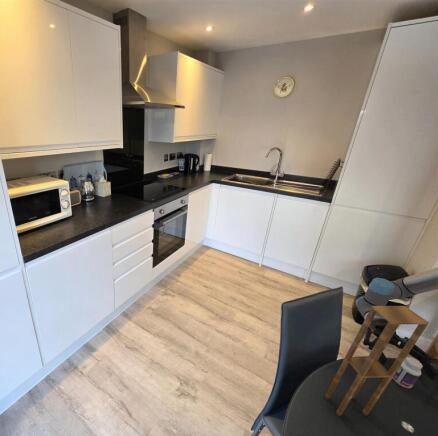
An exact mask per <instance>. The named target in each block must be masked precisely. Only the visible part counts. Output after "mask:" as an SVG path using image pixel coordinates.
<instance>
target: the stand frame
mask: <svg viewBox="0 0 438 436" xmlns="http://www.w3.org/2000/svg"><path fill="white" fill-rule="evenodd" d="M376 313H377V312H376V311H375V310H374V309H373V308H371V309H370V311H369V313H368V315H367V317H366V318H365V319H364V320H363V322H362V324H361V326H360V328H359V329H358V331H357V334H356V336H355V337H354V339H353V340H352V343H351V345H350V347H349V348H348V350H347V352H346V354H345V356H344V358H343V360H342V362H341V364H340V366H339V367H338V369H337V372H336V373H335V375H334V376H333V379H332V380H331V382H330V385H329V386H328V388H327V390H326V392H325V393H324V399H326V400H330V398H331V397H332V395H333V393H334V392H335V389H336V387H337V386H338V384H339V382H340V381H341V379H342V376H343V375H344V373H345V371H346V370H347V367H348V365H350V366H351V367H352V368H353V369H354V371H356V373H357V375H356V377H355V378H354V380H353V381H352V383H351V385H350V387H349V388H348V390H347V392H346V394H345V395H344V397H343V399H342V401H341V402H340V403H339V406H338V407H337V409H336V411H335V414H336V416H337V417H342V415H343V413H344V411H345V410H346V408H347V406H348V405H349V403H350V402H351V400H354V399H355V398H356V396H357V395H358V393H359V392H360V390H361V389H362V388H363V385H364V383H365V382H366V381H367V379H371V378H372V379H373V378H376V379H377V378H381V379H382V380H381V382H380V383H379V385H378V386H377V388H376V389H375V390H374V393H372V395H371V397H370V398H369V400H368V401H367V403H366V405H365V406H364V407H363V409H362V410H361V413H362V414H363V416H369V413H370V412H371V411H372V409H373V408H374V406H375V405H376V403H377V401H378V400H379V399H380V397H381V396H382V395H383V392H385V390H386V388H387V387H388V385H389V383H390V382H391V381H392V380H393V376H394V375H395V373H396V372H397V370H398V369H399V367H400V366H401V364H402V363H403V361H404V360H405V359H406V358H407V357H408V355H410V354H409V352H410V351H411V349H412V348H413V346H414V345H416V343H417V342H418V340H419V339H420V337H421V336H422V335H423V333H424V331H425V330H426V329H427V328H428V326H429V324H417V326H416V328H415V329H414V331H413V332H412V334H411V335H410V337H408V338H409V340H408V341H407V343H406V344H405V346H404V348H403V349H401V350H400V352H399V353H398V355H397V357H396V358H395V360H394V362H393V363H392V364H391V366H390V368H389V369H388V370H387V368H386V367H385V366H384V365H382V364H381V362H380V361H379V357H380V356H381V354H382V352H383V353H384V351H385V349H386V348H387V346H388V345H389V344H388V343H389V341H390V339H391V338H392V336H393V334H394V333H395V331H396V332H397V329H398V328H399V326H400V324H391V323H390V322H388V323H387V325H386V327H385V328H384V330H383V332H382V334H381V335H380V337H379V339H378V340H377V342H376V344H375V346H374V347H373V349H372V350H370V353H369V354H368V356H354V355H355V353H356V351H357V349H358V348H359V346H360V344H361V342H362V340H363V339H364V337H365V335H366V334H365V333H366V331H367V329H368V327H369V325H370V324H371V322H372V320H373V318H374V316H375V314H376Z"/></svg>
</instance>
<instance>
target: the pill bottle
mask: <svg viewBox="0 0 438 436" xmlns="http://www.w3.org/2000/svg"><path fill="white" fill-rule="evenodd" d="M422 367H423V366H422V364H421V363H420V361H418V360H417V359H415V358H414V357H412V356H407V357H406V358H405V360H404V361H403V363H402V364H401V366H400V367H399V369H398V370H397V372H396V373H395V375H394V376H393V378H392V380H393V381H394V382H395V383H396V384H398V385H399V386H401V387H403V388H406V389H412V388H413V387H414V385H415V384H416V383H417V381H418V380H419V378H420V377H421V375H422V369H423V368H422Z"/></svg>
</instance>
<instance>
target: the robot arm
mask: <svg viewBox="0 0 438 436" xmlns="http://www.w3.org/2000/svg"><path fill="white" fill-rule="evenodd" d="M436 290H438V266H437V267H434V268H430V269H428V270H425V271H421V272H418V273H415V274H412V275H409V276H405V277H402V278H398V279H395V280H391V281H390V280H388V279H386V278H382V277H381V278H380V277H375V278H373V279H372V280H371V282H370V283H369V285H368V288H367V289H366V291H365V294H364V295H363V296H362V295H361V296H359V297H358V298H356V300H355V306H356V309H357V311H358V312H359V313H360V314H361V316H362V318H363V319H364V320H365V318H366V317H367V315H368V313H369V311H370V309H371V307H372V306H387V304H388V302H390V301H393V300H398V299H405V298H411V297H413V296H416V295H419V294H420V295H421V294H425V293H428V292H432V291H436ZM388 322H389V321H387V320H386V319H385V318H384V317H382V316H381V315H380V314H379V313H378V312H377V313H376V314H375V316H374V318H373V320H372V322H371V324H370V325H369V327H368V329H367V331H366V333H365V335H364V337H363V341H362V345H364V346H365V347H366V346H367V347H368V350H370V351H372V349H373V347H374V346H375V344H376V342H377V340H378V339H379V337H380V335H381V334H382V332H383V330H384V328H385V327H386V325H387V323H388ZM372 335H373V336H375V338H374V339H372V341H371V340H370V339H371V336H372ZM409 338H410V337H407V336H404V337H401V336H400V335H398V334H397V330H396V331H395V333H394V334H393V336H392V338H391V339H390V341H389V343H388V344H387V345H392V346H395V347H396V348H397V349H399V350H402V349H403V348H404V346H405V344H406V343H407V341H408V340H409ZM408 355H409V356H410V357H411V358H414V359H416V360H417V361H419V362H420V363H421V364H422V366H423V367H422V368H421V369H423V371H424V372H425V374H426V375H427V376H428V377H429V380H432V381H434V380H435V379H436V378H437V376H438V373H437V372H436V370H435V369H434V366H433V364H432V362H433V361H434V357H432V356H431V355H430V354H429V353H427V352H426V351H424V350H423V349H422V348H420V347H419V346H418V345H416V344H415V345H414V346H413V348H412V349H411V351H410V352H409V354H408ZM378 361H379V363H380V364H381V365H382V366H385V365H386V363H387V362H388V358H387V357H386V355H385V353H384V351H383V352H382V354H381V356H380V357H379V359H378Z"/></svg>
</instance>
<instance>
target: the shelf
mask: <svg viewBox="0 0 438 436" xmlns="http://www.w3.org/2000/svg"><path fill="white" fill-rule="evenodd" d="M371 308H373V309H374V310H375V311H376V312H378V313H379V314H380V315H381V316H382V317H384V318H385V319H386V320H387V321H389V322H390V323H391V324H399V325H418V324H428V325H429V324H430V322H429V321H428V320H426V319H425V318H423V317H422V316H420V315H419V314H417V313H416V312H415V311H413V310H412V309H410V308H409V307H407V306H406V305H386V306H372V307H371Z"/></svg>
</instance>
